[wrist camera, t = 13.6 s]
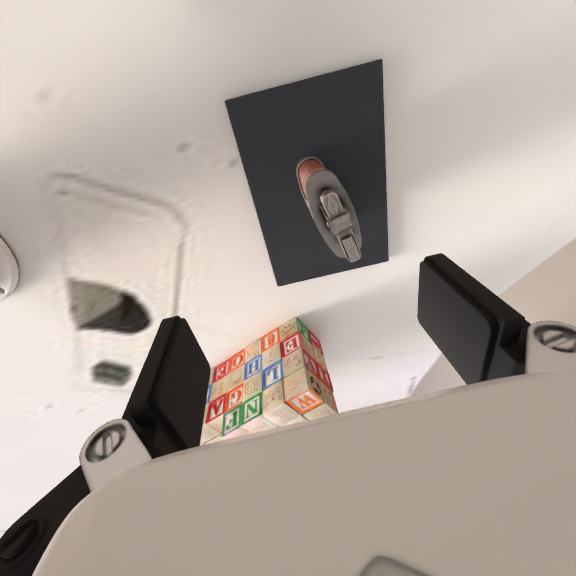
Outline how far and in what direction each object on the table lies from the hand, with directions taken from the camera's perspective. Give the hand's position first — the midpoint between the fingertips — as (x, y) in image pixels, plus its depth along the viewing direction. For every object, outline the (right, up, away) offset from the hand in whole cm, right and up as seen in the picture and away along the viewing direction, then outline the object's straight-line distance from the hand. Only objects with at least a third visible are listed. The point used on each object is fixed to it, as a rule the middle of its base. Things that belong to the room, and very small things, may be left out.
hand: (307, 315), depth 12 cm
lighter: (+3, +11, +19) cm, 22 cm away
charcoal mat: (+3, +11, +20) cm, 23 cm away
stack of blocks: (-6, -10, +33) cm, 35 cm away
